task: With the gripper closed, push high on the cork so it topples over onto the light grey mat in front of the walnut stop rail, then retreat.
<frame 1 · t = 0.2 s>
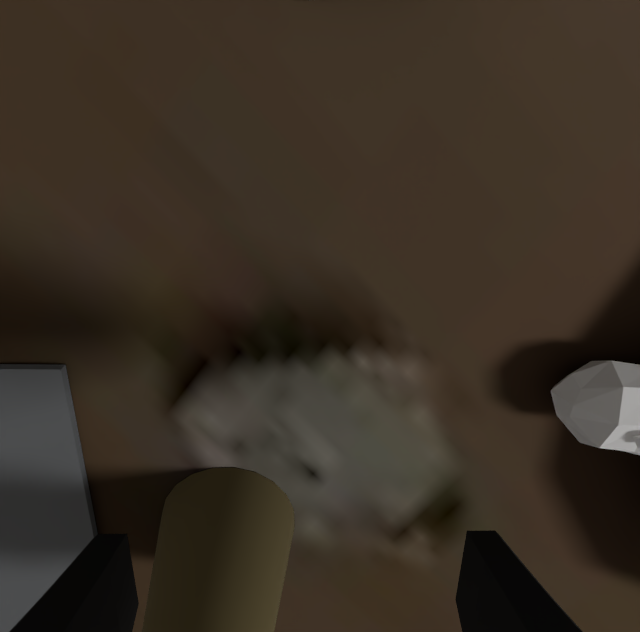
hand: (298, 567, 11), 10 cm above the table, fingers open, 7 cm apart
cork: (229, 517, 24), on the table
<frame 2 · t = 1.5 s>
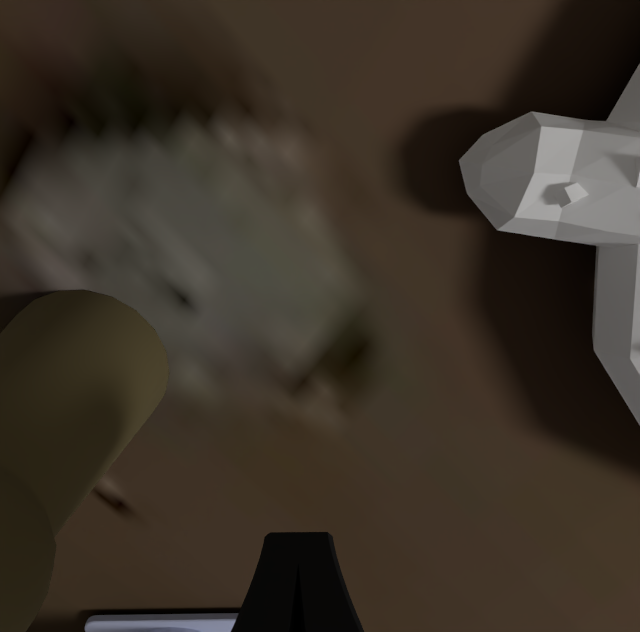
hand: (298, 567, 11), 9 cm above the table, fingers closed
cork: (90, 362, 19), on the table
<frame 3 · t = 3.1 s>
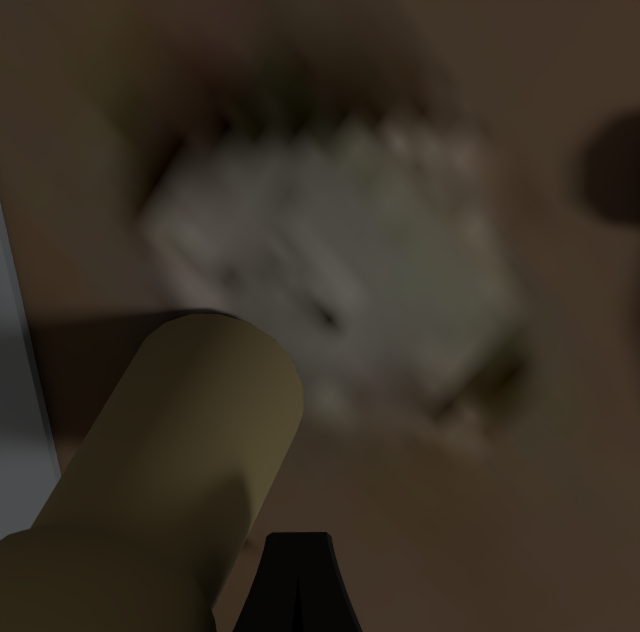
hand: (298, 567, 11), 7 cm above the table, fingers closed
cork: (217, 392, 18), on the table, touching gripper
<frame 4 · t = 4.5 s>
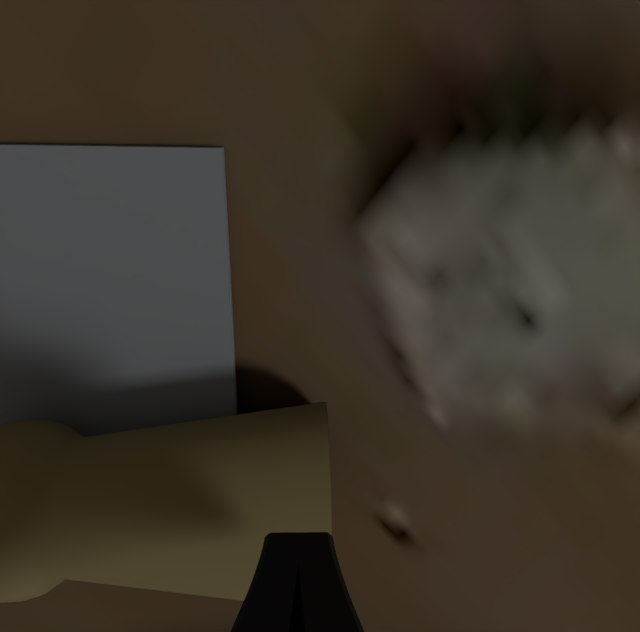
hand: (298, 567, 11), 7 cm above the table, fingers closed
mat: (90, 389, 18), on the table
cork: (333, 499, 16), point 3 cm above the table, touching mat
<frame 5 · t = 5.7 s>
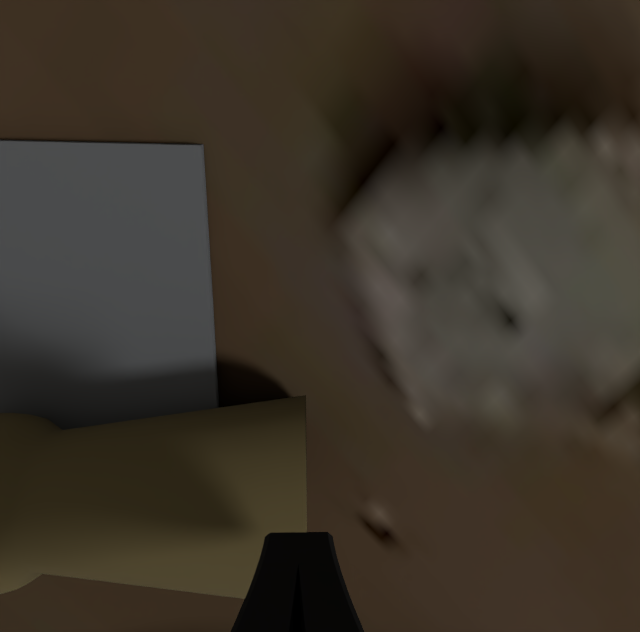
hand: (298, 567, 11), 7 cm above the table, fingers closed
mat: (70, 387, 17), on the table
cork: (312, 494, 16), point 3 cm above the table, touching mat
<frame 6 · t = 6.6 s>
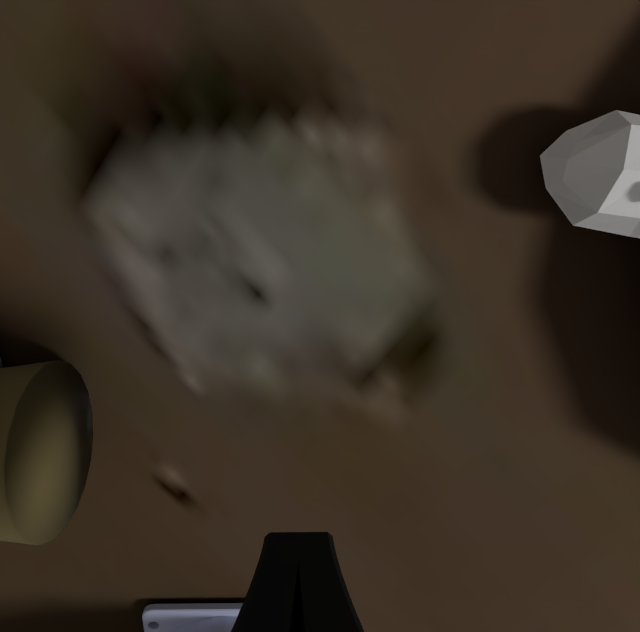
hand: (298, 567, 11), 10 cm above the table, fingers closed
cork: (61, 448, 18), point 3 cm above the table, touching mat
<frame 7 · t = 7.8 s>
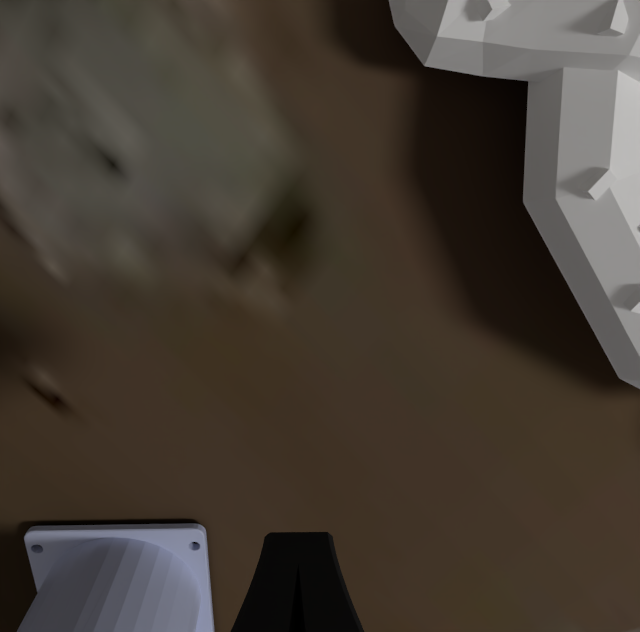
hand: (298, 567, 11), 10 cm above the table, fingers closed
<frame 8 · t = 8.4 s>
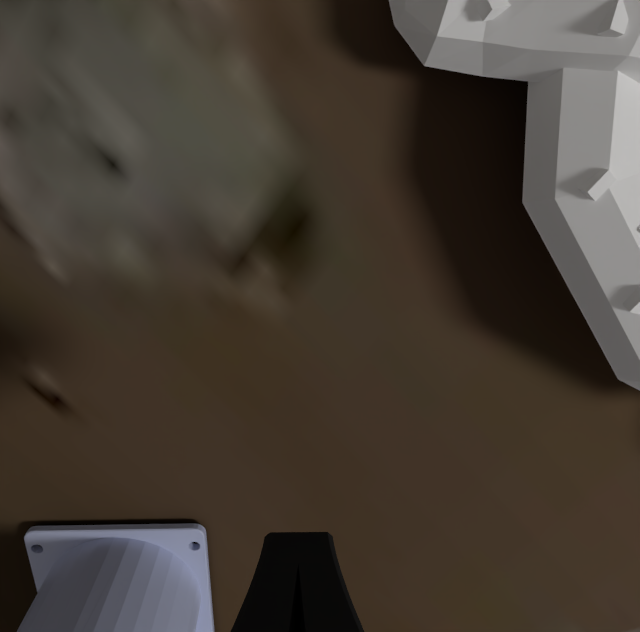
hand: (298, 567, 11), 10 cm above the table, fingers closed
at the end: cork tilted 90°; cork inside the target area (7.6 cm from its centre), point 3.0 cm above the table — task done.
